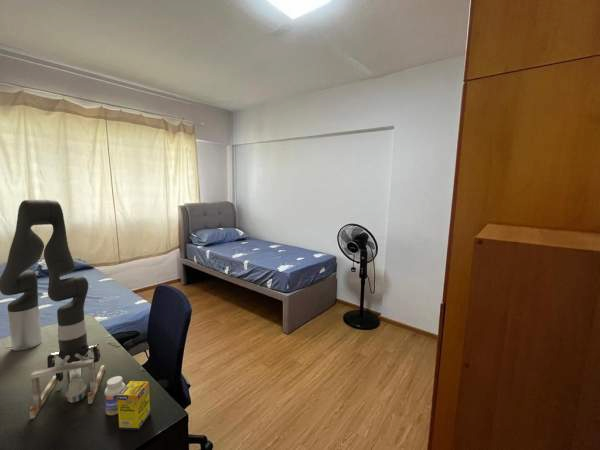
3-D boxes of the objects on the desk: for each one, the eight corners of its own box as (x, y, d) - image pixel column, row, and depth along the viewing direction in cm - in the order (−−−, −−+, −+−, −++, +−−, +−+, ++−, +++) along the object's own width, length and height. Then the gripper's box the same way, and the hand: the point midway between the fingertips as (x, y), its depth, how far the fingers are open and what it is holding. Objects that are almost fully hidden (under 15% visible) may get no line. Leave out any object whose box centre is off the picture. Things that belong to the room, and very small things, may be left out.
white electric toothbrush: (83, 353, 107) (85, 377, 88) (84, 369, 107) (87, 398, 88) (65, 358, 103) (64, 385, 84) (67, 375, 103) (66, 406, 84)
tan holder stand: (53, 381, 96) (50, 349, 95) (105, 369, 103) (103, 339, 101) (29, 419, 80) (24, 381, 78) (93, 402, 86) (90, 367, 85)
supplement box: (139, 430, 77) (137, 395, 75) (118, 430, 77) (116, 395, 75) (151, 413, 82) (149, 380, 81) (131, 413, 83) (129, 380, 81)
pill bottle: (104, 418, 81) (102, 388, 79) (107, 405, 85) (105, 377, 84) (125, 411, 83) (123, 382, 82) (127, 400, 88) (125, 372, 87)
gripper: (100, 325, 100) (103, 365, 102) (50, 332, 94) (54, 375, 96) (94, 334, 93) (98, 377, 95) (41, 343, 87) (45, 389, 89)
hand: (76, 376), depth 95 cm, fingers open, 8 cm apart
